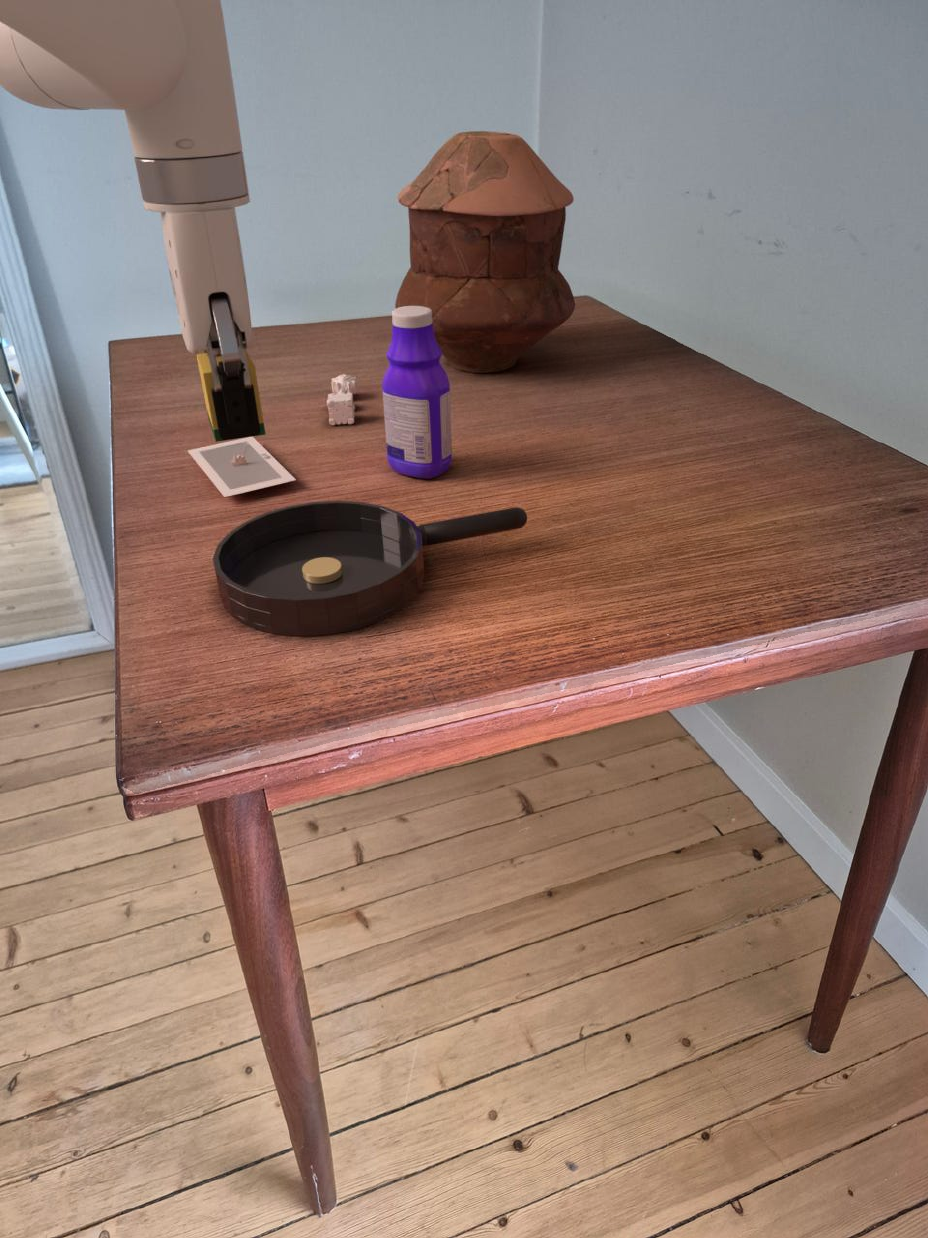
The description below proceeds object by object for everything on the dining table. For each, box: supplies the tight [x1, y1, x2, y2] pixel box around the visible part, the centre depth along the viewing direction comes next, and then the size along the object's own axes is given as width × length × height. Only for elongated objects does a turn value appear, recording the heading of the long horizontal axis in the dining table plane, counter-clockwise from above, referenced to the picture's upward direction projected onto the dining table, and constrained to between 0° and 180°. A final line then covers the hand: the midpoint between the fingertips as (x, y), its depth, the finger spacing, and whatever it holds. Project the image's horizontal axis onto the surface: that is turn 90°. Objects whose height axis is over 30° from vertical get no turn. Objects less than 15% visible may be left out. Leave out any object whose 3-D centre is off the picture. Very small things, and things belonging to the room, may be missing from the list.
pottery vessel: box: [394, 130, 576, 374], centre depth 124 cm, size 26×26×30 cm
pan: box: [212, 500, 425, 637], centre depth 79 cm, size 18×18×4 cm
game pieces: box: [326, 373, 357, 426], centre depth 116 cm, size 12×3×3 cm, turn 4°
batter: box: [302, 557, 342, 584], centre depth 80 cm, size 4×4×1 cm
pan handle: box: [416, 506, 528, 547], centre depth 82 cm, size 11×2×2 cm, turn 109°
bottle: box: [381, 306, 453, 480], centre depth 95 cm, size 7×6×17 cm
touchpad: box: [186, 436, 297, 498], centre depth 100 cm, size 8×15×2 cm, turn 29°
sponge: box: [196, 349, 266, 443], centre depth 73 cm, size 4×6×6 cm
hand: (235, 421), depth 74 cm, fingers closed on sponge, 5 cm apart
